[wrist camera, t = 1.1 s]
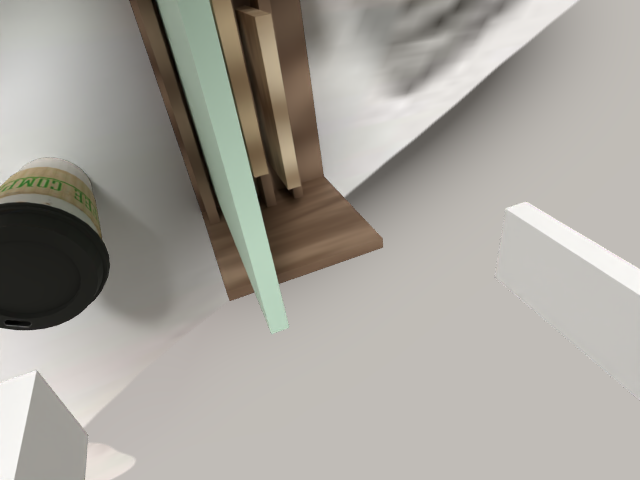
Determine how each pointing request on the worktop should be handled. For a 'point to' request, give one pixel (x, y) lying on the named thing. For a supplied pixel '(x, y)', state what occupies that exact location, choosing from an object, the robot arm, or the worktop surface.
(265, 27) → the offcut birch
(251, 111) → the offcut oak
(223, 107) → the sheet
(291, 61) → the rack
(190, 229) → the worktop surface
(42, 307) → the coffee cup
